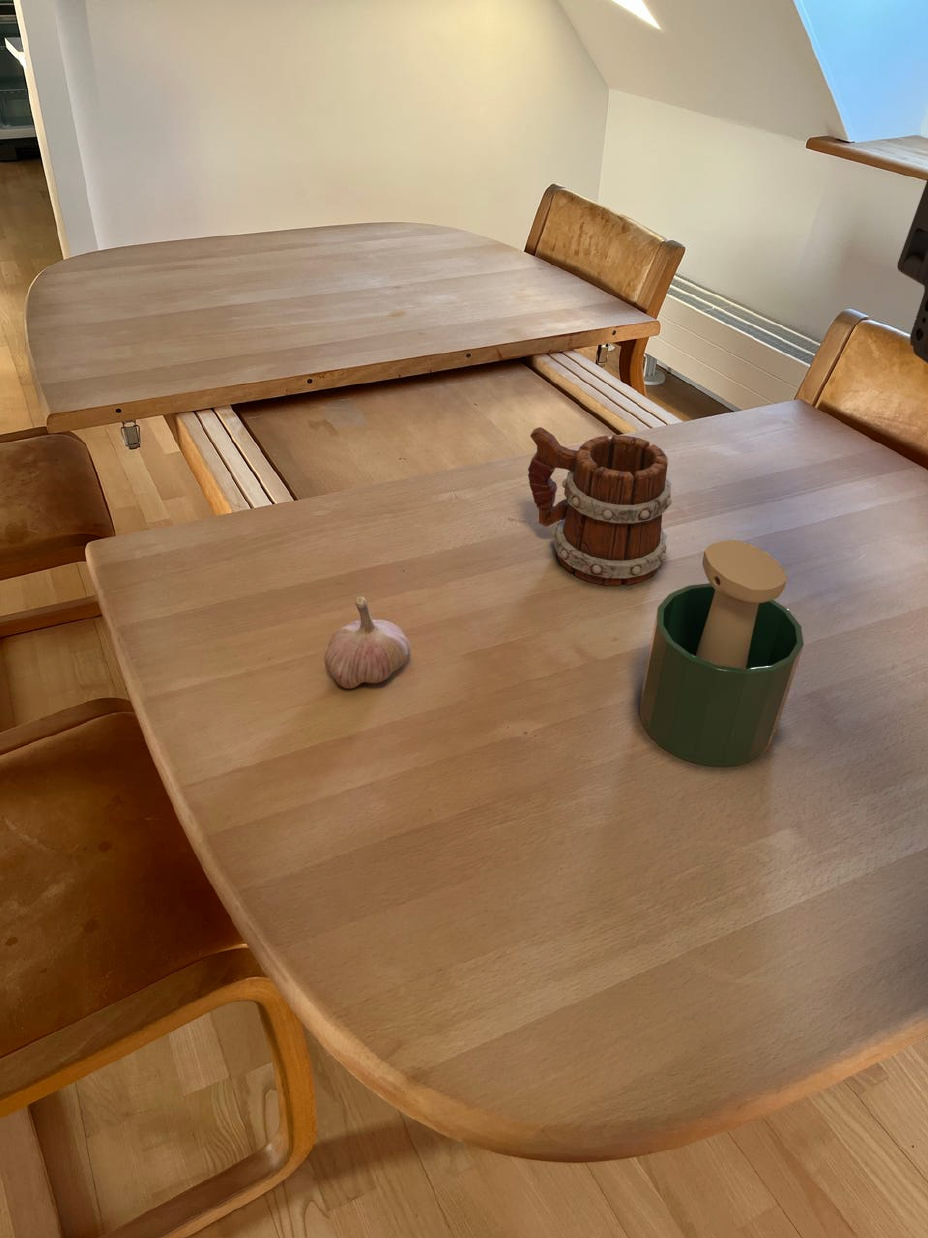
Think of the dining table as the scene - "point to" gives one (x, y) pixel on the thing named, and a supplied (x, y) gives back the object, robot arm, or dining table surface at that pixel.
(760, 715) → the cup
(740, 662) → the handle
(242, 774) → the dining table surface
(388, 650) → the garlic bulb
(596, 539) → the mug
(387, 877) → the dining table surface
